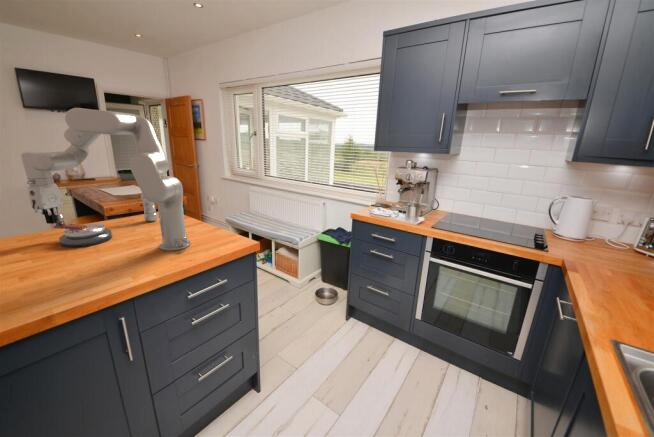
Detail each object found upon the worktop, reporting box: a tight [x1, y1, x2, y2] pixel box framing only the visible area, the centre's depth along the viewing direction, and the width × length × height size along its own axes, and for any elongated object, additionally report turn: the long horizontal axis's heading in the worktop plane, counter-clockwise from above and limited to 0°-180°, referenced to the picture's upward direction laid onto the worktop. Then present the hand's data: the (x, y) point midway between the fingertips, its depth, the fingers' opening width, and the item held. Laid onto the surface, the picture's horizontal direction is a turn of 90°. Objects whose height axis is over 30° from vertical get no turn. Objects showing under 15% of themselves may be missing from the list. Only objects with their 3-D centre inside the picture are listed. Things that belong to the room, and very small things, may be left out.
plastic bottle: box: [140, 192, 159, 222], centre depth 154 cm, size 6×7×20 cm
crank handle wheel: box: [53, 213, 106, 239], centre depth 124 cm, size 14×20×9 cm
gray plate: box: [58, 228, 113, 249], centre depth 125 cm, size 18×18×3 cm
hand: (52, 222), depth 120 cm, fingers closed
